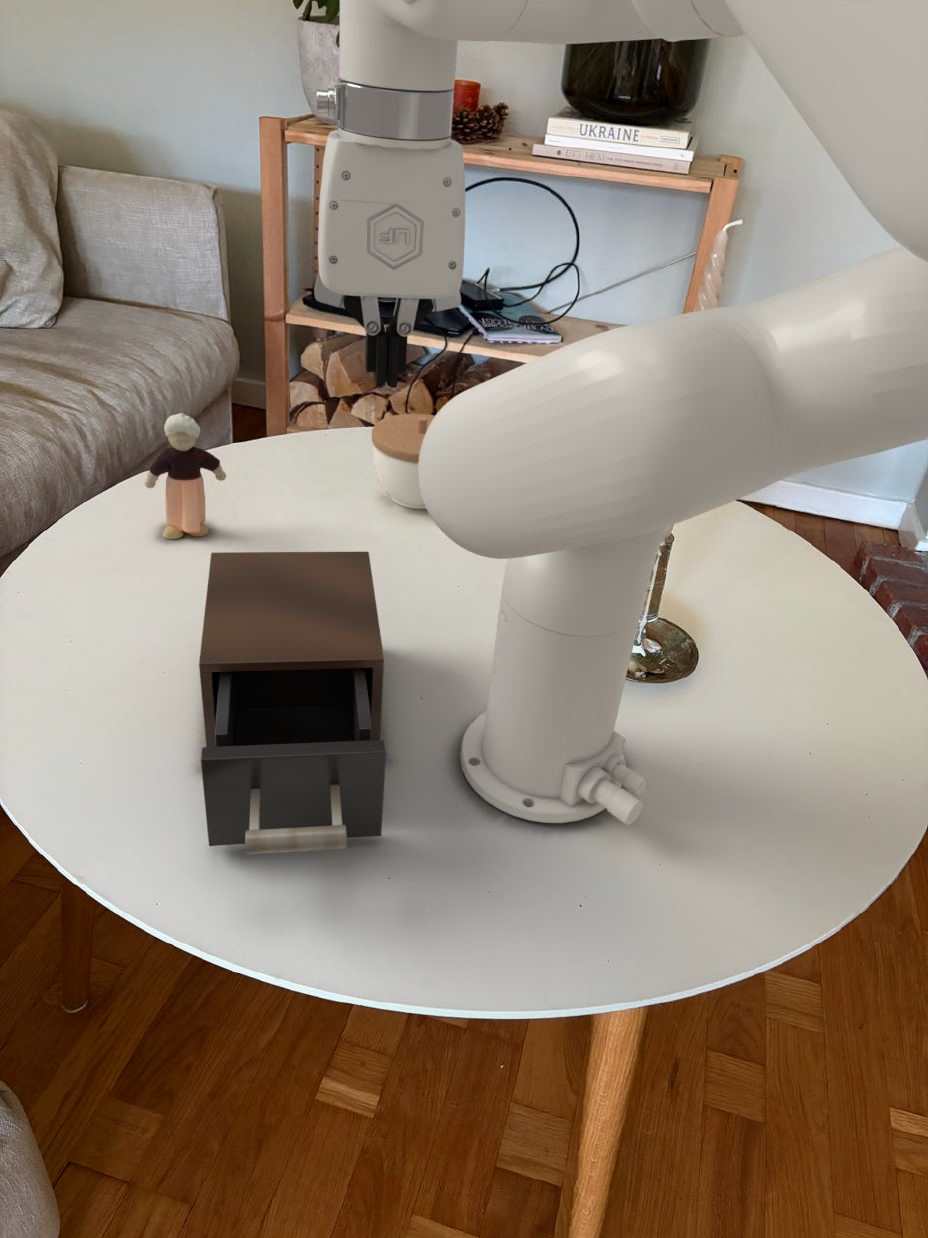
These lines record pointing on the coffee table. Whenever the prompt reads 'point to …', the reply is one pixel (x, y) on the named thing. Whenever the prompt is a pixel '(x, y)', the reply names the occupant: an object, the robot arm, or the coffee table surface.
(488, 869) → the coffee table surface
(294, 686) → the pull-out drawer
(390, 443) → the trinket box
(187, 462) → the grandmother figurine
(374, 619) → the cabinet
